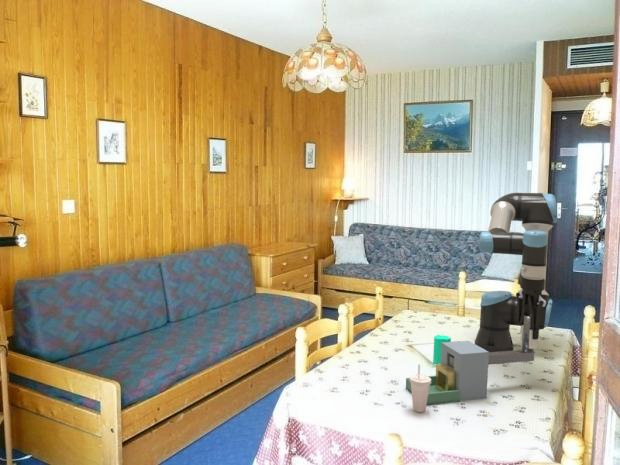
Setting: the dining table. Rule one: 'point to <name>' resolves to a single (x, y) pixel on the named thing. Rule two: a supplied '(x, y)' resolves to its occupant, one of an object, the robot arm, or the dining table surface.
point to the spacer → (440, 378)
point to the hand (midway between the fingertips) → (528, 346)
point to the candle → (439, 347)
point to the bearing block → (467, 368)
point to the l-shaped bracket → (513, 355)
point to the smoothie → (420, 391)
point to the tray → (437, 393)
